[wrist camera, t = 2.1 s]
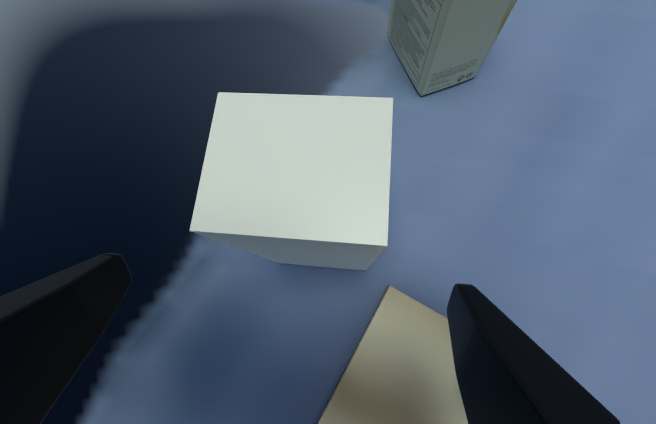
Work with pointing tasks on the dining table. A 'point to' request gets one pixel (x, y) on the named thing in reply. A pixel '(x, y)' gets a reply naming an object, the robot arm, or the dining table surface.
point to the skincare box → (444, 38)
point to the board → (399, 370)
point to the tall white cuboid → (298, 178)
